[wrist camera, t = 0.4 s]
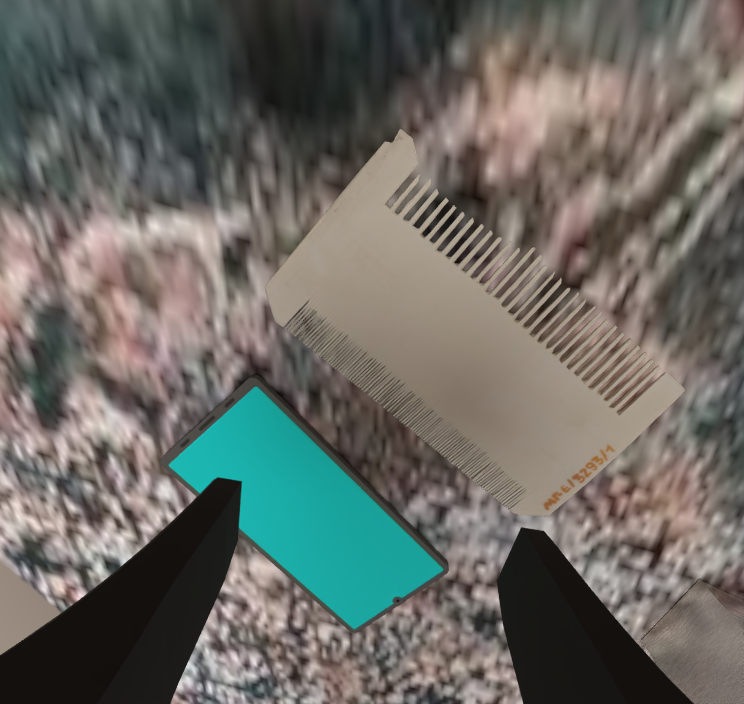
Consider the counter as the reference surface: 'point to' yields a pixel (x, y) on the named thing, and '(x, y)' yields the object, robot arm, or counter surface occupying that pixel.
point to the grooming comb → (460, 344)
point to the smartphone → (307, 507)
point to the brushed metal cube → (702, 645)
